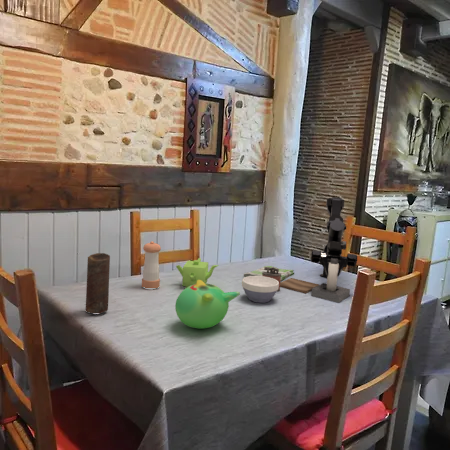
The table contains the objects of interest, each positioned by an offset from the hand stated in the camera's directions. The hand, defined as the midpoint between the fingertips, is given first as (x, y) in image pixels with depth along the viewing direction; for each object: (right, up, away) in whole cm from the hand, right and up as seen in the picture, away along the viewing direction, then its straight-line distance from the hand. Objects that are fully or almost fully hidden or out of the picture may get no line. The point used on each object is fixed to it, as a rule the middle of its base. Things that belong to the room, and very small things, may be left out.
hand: (332, 275), depth 180 cm
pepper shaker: (-75, -5, 0) cm, 75 cm away
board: (-12, -6, +14) cm, 19 cm away
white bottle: (0, -7, +3) cm, 7 cm away
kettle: (-56, -5, +5) cm, 57 cm away
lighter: (-25, -7, +6) cm, 27 cm away
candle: (-88, -9, -32) cm, 94 cm away
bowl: (-31, -9, -7) cm, 33 cm away
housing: (0, -9, +3) cm, 9 cm away
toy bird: (-52, -12, -38) cm, 65 cm away
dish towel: (-23, -4, +29) cm, 37 cm away
